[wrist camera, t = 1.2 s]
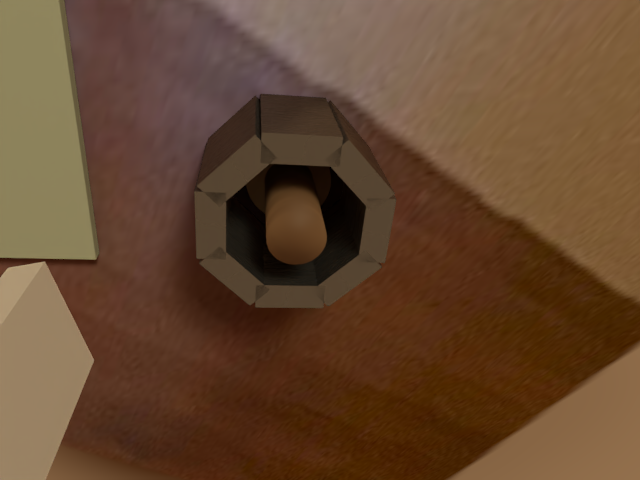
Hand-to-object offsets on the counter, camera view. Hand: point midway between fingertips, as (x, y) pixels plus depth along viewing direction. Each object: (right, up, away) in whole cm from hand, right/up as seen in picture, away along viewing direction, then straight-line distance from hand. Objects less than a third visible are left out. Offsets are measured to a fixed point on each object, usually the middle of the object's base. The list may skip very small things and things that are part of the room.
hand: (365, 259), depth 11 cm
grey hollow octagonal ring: (-3, +4, +21) cm, 22 cm away
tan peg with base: (-3, +4, +21) cm, 22 cm away
